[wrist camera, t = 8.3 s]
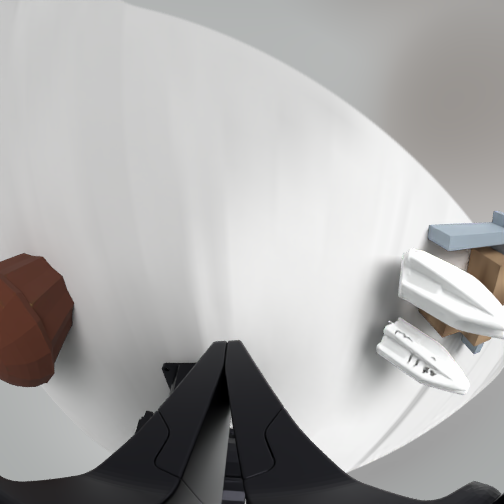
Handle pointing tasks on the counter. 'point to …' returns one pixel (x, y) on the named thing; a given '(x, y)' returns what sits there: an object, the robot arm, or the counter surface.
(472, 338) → the T block
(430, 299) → the salt and pepper shakers
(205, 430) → the robot arm
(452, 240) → the corner fence
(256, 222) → the counter surface
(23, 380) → the muffin
